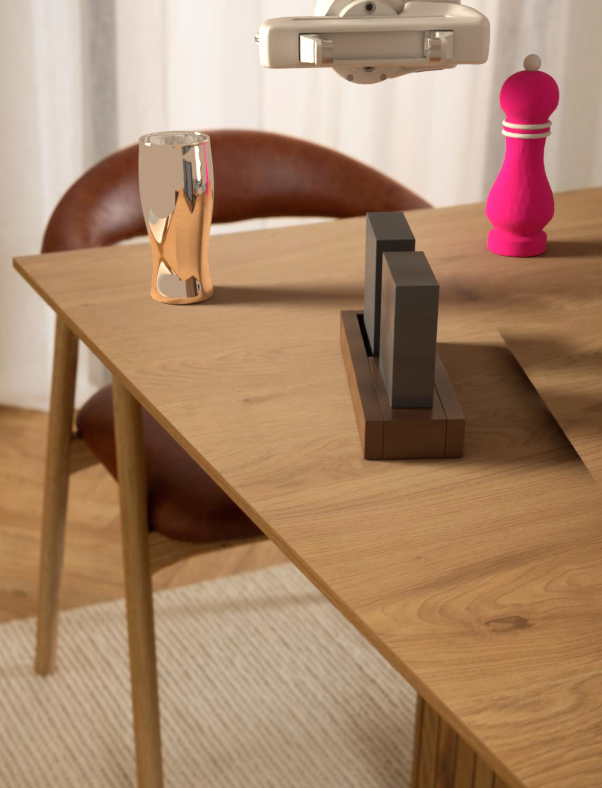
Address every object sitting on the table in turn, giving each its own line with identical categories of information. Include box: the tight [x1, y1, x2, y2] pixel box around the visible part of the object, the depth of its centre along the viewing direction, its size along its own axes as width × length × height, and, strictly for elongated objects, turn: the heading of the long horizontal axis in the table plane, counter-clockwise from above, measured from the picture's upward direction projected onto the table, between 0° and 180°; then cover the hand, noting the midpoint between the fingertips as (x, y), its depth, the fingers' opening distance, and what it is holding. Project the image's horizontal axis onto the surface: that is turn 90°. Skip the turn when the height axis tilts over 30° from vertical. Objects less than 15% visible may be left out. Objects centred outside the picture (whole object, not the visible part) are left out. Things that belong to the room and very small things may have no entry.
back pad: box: [363, 211, 417, 358], centre depth 96 cm, size 8×3×12 cm, turn 1°
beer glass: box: [138, 130, 215, 305], centre depth 112 cm, size 7×7×15 cm
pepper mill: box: [484, 53, 560, 258], centre depth 123 cm, size 7×7×20 cm
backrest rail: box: [339, 250, 466, 460], centre depth 91 cm, size 23×7×12 cm, turn 2°
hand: (381, 53), depth 98 cm, fingers open, 8 cm apart
